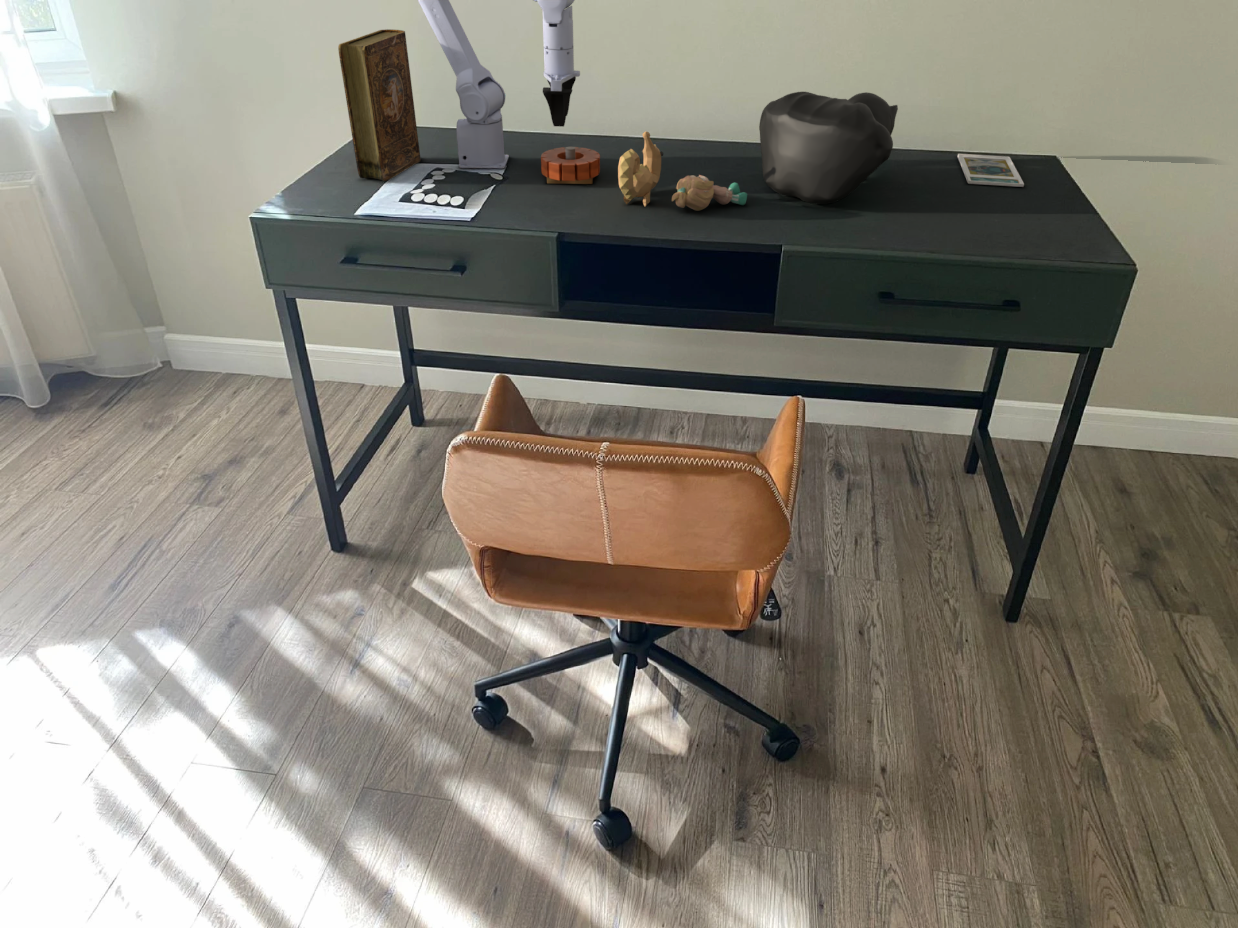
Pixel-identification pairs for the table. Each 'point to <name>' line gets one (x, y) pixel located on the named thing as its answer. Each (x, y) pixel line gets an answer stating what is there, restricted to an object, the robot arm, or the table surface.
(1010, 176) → the trading card
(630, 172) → the toy
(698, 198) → the toy
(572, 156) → the rack
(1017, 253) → the table surface
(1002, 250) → the table surface
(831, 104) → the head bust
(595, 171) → the ring
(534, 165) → the table surface
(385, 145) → the book
